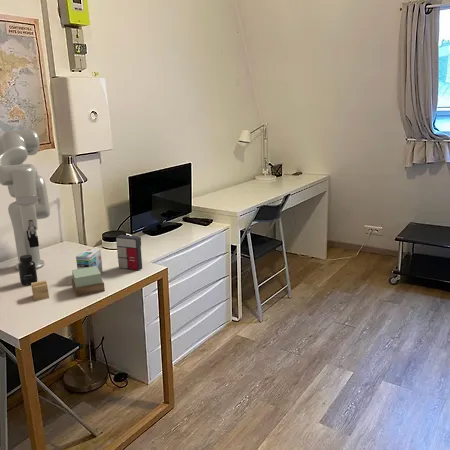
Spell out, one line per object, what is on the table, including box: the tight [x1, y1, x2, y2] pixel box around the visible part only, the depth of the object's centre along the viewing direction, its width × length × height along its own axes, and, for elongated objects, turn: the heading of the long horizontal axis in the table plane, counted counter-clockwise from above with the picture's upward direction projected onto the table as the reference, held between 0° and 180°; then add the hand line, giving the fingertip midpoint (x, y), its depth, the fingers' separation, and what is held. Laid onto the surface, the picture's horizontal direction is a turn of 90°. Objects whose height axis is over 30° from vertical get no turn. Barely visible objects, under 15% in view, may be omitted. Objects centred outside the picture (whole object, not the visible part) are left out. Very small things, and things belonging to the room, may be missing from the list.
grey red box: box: [115, 234, 143, 271], centre depth 209 cm, size 11×4×15 cm, turn 68°
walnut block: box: [71, 278, 106, 298], centre depth 188 cm, size 11×11×4 cm
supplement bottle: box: [18, 255, 39, 286], centre depth 196 cm, size 7×7×12 cm
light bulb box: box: [75, 248, 104, 274], centre depth 202 cm, size 11×7×11 cm, turn 168°
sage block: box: [71, 266, 103, 288], centre depth 187 cm, size 10×10×4 cm
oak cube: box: [30, 280, 50, 301], centre depth 182 cm, size 6×6×6 cm
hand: (33, 243), depth 177 cm, fingers open, 9 cm apart
